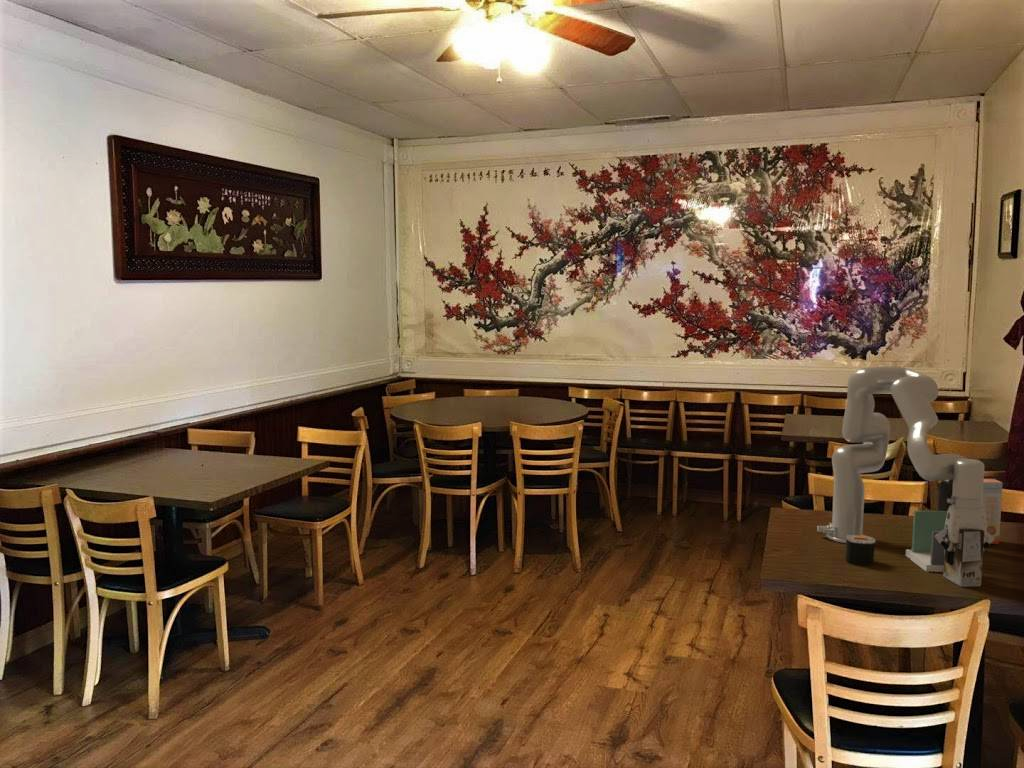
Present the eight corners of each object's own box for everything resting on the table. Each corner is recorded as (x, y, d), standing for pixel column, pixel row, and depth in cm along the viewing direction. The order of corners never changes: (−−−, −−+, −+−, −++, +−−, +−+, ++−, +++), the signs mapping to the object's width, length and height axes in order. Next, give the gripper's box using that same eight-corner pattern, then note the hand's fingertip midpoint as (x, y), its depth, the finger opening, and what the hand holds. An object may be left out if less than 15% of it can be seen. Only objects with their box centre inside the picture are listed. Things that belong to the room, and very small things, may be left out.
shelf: (926, 571, 249) (929, 522, 248) (905, 555, 264) (908, 508, 263) (971, 572, 249) (974, 522, 247) (948, 556, 264) (951, 509, 262)
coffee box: (982, 586, 237) (986, 531, 235) (960, 587, 236) (964, 531, 234) (962, 575, 246) (965, 521, 244) (941, 576, 245) (944, 522, 244)
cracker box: (990, 539, 282) (995, 478, 279) (999, 545, 276) (1004, 482, 273) (947, 538, 283) (951, 477, 281) (954, 543, 277) (958, 481, 275)
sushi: (875, 567, 253) (876, 541, 252) (845, 564, 256) (847, 538, 255) (873, 559, 261) (874, 534, 260) (844, 556, 263) (845, 531, 262)
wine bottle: (946, 542, 278) (952, 453, 274) (961, 547, 272) (967, 456, 269) (933, 544, 276) (938, 454, 273) (947, 549, 271) (953, 457, 267)
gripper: (941, 505, 235) (937, 567, 237) (1005, 506, 234) (1000, 569, 236) (929, 498, 243) (925, 559, 245) (991, 500, 242) (987, 560, 244)
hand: (962, 563), depth 240 cm, fingers closed on coffee box, 6 cm apart
